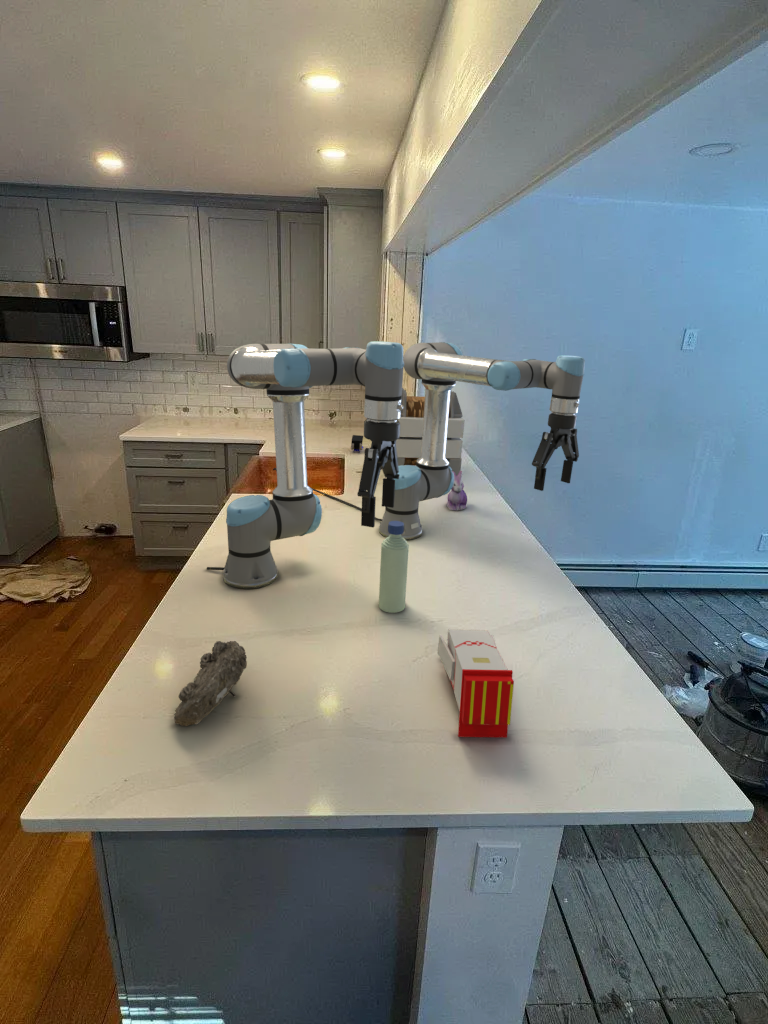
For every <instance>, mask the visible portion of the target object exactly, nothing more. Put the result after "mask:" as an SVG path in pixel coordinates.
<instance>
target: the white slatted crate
mask: <svg viewBox="0 0 768 1024" xmlns="http://www.w3.org/2000/svg"><path fill="white" fill-rule="evenodd" d="M407 394H408V393H407V390H406V389H404V388H403V387H402V396H401V405H403V409H402V410H401V414H400V419H398V421H399V422H400V437H399V439H397V440H396V451H397V460H398V466H401V465H404V466H405V465H413V466H416V461H417V459H418V458H420V457H421V449H422V434H423V419H424V404H425V396H415V395H414V396H413V395H412V396H411V395H407ZM464 429H465V419H464V418H463V411H462V408H461V405H460V402H459V398H458V395H457V392H455V391H453V390H451V392H450V404H449V416H448V428H447V441H446V453H445V458H446V459H447V461H448V462H449V466H450V467H451V469H452V471H454V472H455V474H456V475H458V473H459V472H460V471H462V461H463V460H462V453H463V442H464V441H463V440H462V439H463V438H464V431H465V430H464Z"/></svg>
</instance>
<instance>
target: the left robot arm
mask: <svg viewBox="0 0 768 1024" xmlns="http://www.w3.org/2000/svg"><path fill="white" fill-rule="evenodd" d="M403 357H404V346H403V345H402V343H400V342H395V341H393V342H392V341H382V340H381V341H374V340H373V341H369V342H368V343H367V344H366V348H365V349H364V348H360V347H357V346H345V347H341V348H339V347H338V348H337V347H336V348H333V347H332V348H314V347H313V348H311V347H310V348H308V347H307V346H306V345H304V344H298V343H248V344H244V345H241V346H239V347H236V348H235V349H233V351H231V353H230V354H229V356H228V358H227V361H226V370H227V373H228V375H229V377H230V379H231V380H232V381H233V382H234V383H235V384H237V385H239V386H241V387H243V388H246V389H252V390H265V391H266V396H267V397H268V398H269V399H270V400H271V401H272V414H273V432H274V449H275V451H274V452H275V465H276V466H275V468H276V469H277V471H276V486H275V488H274V489H273V490H272V499H269V498H268V497H267V496H265V495H261V494H256V495H254V494H251V495H245V496H244V495H243V496H242V497H238V498H236V499H234V500H233V501H231V502H230V503H229V504H228V505H227V508H226V518H225V523H226V530H227V547H228V548H227V549H228V554H227V557H226V561H225V565H224V567H223V566H222V567H221V566H207V567H206V570H208V571H223V572H222V578H223V581H224V583H225V584H226V585H228V586H230V587H233V588H237V589H258V588H263V587H266V586H268V585H270V584H273V583H274V582H275V581H276V580H277V579H278V574H279V573H278V566H277V565H276V562H275V559H274V557H273V554H272V551H271V542H273V541H278V540H283V539H288V538H289V539H290V538H295V537H303V536H305V535H309V534H312V533H314V532H316V531H317V530H318V528H319V527H320V525H321V521H322V516H323V508H322V504H321V500H320V497H318V495H316V494H315V493H314V491H313V489H314V488H313V487H311V488H310V486H309V483H308V465H307V464H308V463H307V462H308V461H307V440H306V438H307V437H306V436H307V435H306V418H305V417H306V414H305V401H306V399H307V398H308V397H309V396H310V389H312V388H313V387H322V386H324V387H325V386H326V387H327V386H362V387H364V405H363V412H364V413H363V417H364V418H365V420H364V421H363V438H364V439H366V440H369V441H370V442H371V444H370V447H365V449H364V455H363V456H364V459H363V463H362V468H361V469H362V470H361V475H360V481H359V485H358V491H357V497H361V508H362V511H361V519H360V526H361V527H369V528H374V527H375V524H376V523H375V521H376V520H375V517H376V500H377V499H376V498H377V497H376V496H375V495H376V494H375V493H376V489H377V487H378V482H379V479H380V475H381V471H382V473H383V476H384V478H383V479H382V489H381V490H382V491H381V493H382V495H381V507H384V508H385V507H391V508H393V507H394V496H395V480H394V479H399V474H398V473H399V468H398V460H397V451H396V440H397V439H399V437H400V422H399V421H398V419H400V414H401V410H402V409H403V405H401V396H402V388H403V380H404V361H403ZM394 467H395V468H394ZM312 488H313V489H312Z"/></svg>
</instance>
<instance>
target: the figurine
mask: <svg viewBox="0 0 768 1024" xmlns="http://www.w3.org/2000/svg"><path fill="white" fill-rule="evenodd" d="M452 473H454V484H453V487H452V489H451V490H450V491H449V492H448V493H447V501H446V508H447V509H449V510H450V511H460V510H461V511H462V510H464V509H466V508H467V503H468V496H467V495H468V494H467V493H466V491H465V490H464V488H465V485H464V482H463V479H462V478H463V470H461V471H460V472H459V473H458V475H456V474H455V472H454V471H452Z"/></svg>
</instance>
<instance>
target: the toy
mask: <svg viewBox="0 0 768 1024" xmlns="http://www.w3.org/2000/svg"><path fill="white" fill-rule="evenodd" d="M446 640H447V643H446V641H445V639H444V636H443V635H442V634H439V637H438V646H437V656H438V657H439V659H440V661H441V663H442V666H443V668H444V670H445V672H446V674H447V677H448V679H449V681H450V684H451V687H452V690H453V693H454V697H455V701H456V705H457V708H458V711H459V714H458V715H459V716H458V730H457V731H458V732H457V737H458V738H508V731H509V726H510V725H511V717H512V707H513V697H514V696H513V695H514V684H515V680H514V679H513V673H514V671H513V670H512V669H508V667H507V665H506V662H505V661H504V659H503V658H502V655H501V653H500V651H499V649H498V647H497V643H496V639H495V637H494V635H493V634H491V632H490V631H489V629H467V628H466V629H465V628H463V629H461V628H460V629H459V628H448V630H447V639H446Z"/></svg>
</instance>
